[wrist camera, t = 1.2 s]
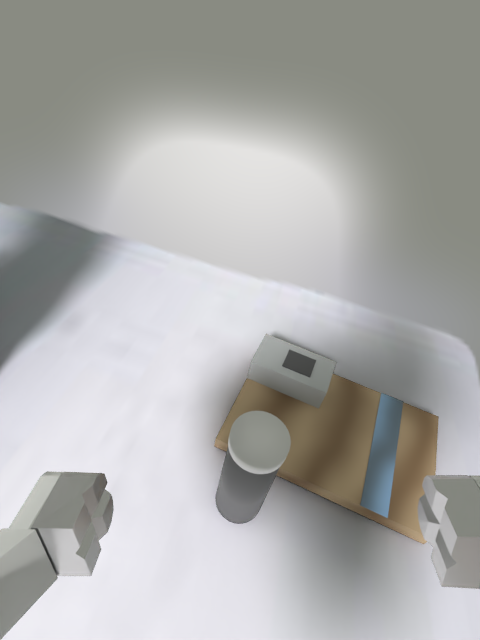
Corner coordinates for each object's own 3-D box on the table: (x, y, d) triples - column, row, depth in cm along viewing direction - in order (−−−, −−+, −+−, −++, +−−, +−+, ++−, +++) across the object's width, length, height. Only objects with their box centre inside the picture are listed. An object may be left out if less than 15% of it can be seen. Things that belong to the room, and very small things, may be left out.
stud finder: (247, 378, 42) (251, 360, 40) (261, 350, 45) (266, 332, 43) (318, 408, 41) (327, 392, 39) (328, 377, 44) (337, 361, 42)
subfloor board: (214, 446, 38) (215, 438, 37) (261, 353, 47) (264, 344, 46) (423, 544, 34) (432, 538, 33) (431, 423, 43) (438, 416, 42)
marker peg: (206, 511, 34) (219, 450, 26) (226, 467, 37) (243, 401, 29) (251, 533, 33) (279, 478, 25) (268, 487, 36) (298, 425, 28)
